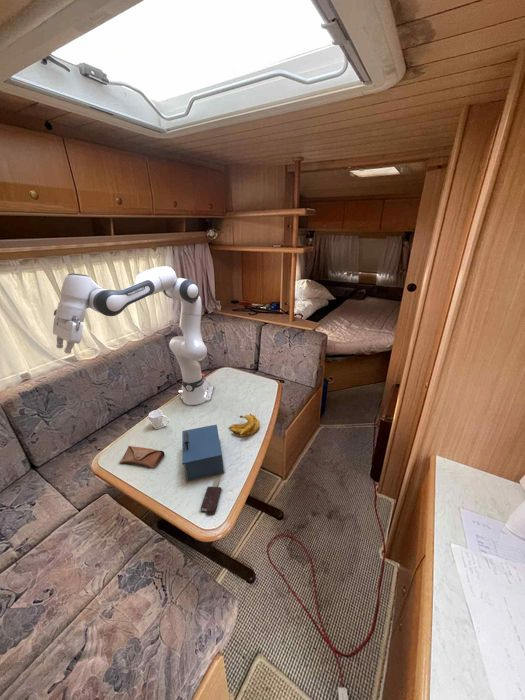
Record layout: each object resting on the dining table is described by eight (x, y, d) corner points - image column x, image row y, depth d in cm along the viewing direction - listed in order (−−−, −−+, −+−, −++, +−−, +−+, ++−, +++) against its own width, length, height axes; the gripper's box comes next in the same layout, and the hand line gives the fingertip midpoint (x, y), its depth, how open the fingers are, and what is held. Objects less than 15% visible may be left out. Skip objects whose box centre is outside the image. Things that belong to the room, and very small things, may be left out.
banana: (262, 417, 147) (261, 408, 145) (256, 442, 130) (255, 432, 128) (234, 415, 150) (233, 406, 147) (225, 439, 132) (224, 430, 130)
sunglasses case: (117, 463, 120) (120, 447, 120) (128, 459, 127) (130, 444, 127) (155, 468, 116) (156, 452, 117) (163, 464, 123) (165, 449, 124)
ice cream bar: (211, 478, 111) (200, 513, 98) (211, 475, 111) (199, 510, 97) (224, 479, 111) (214, 514, 97) (223, 476, 110) (214, 511, 97)
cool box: (187, 480, 111) (184, 464, 107) (187, 447, 128) (184, 432, 125) (224, 472, 114) (222, 456, 111) (218, 440, 132) (216, 425, 128)
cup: (155, 421, 147) (152, 409, 143) (172, 422, 145) (170, 410, 142) (148, 430, 140) (145, 417, 137) (167, 431, 139) (164, 418, 136)
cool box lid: (182, 464, 107) (180, 454, 105) (182, 432, 125) (180, 423, 123) (222, 456, 111) (221, 446, 109) (216, 425, 128) (215, 416, 126)
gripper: (90, 320, 100) (82, 357, 100) (71, 313, 112) (64, 346, 113) (70, 316, 95) (62, 355, 95) (52, 310, 107) (45, 344, 108)
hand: (63, 350), depth 104 cm, fingers open, 8 cm apart
